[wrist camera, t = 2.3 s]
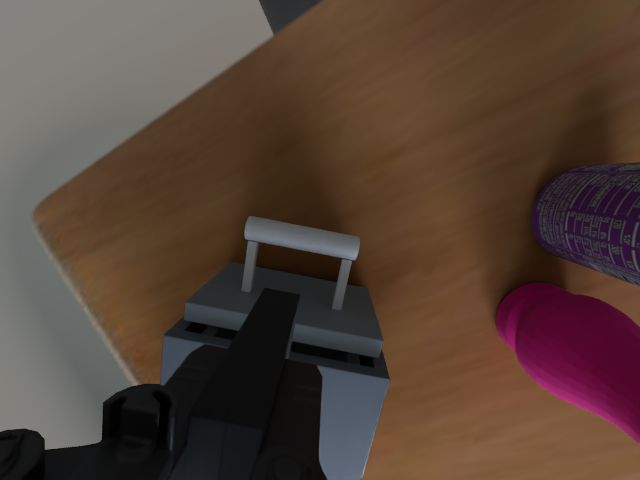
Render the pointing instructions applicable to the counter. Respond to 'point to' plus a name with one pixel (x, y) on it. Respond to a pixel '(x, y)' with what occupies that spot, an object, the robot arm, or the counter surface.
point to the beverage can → (593, 218)
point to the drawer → (316, 294)
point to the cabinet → (336, 404)
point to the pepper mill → (576, 350)
